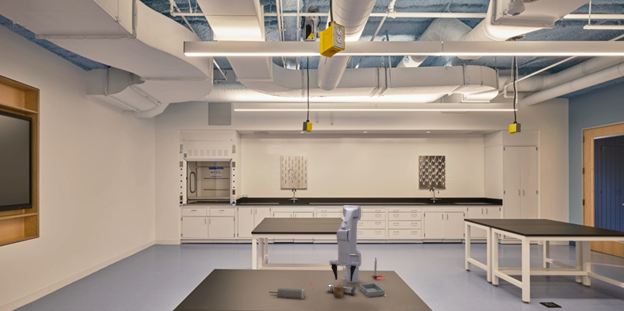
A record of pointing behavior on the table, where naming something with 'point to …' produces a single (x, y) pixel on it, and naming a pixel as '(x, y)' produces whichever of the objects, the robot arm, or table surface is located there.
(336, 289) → the block
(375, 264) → the tow hook
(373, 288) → the tray
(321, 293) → the table surface
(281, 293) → the motor
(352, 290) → the crank lever
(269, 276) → the table surface
